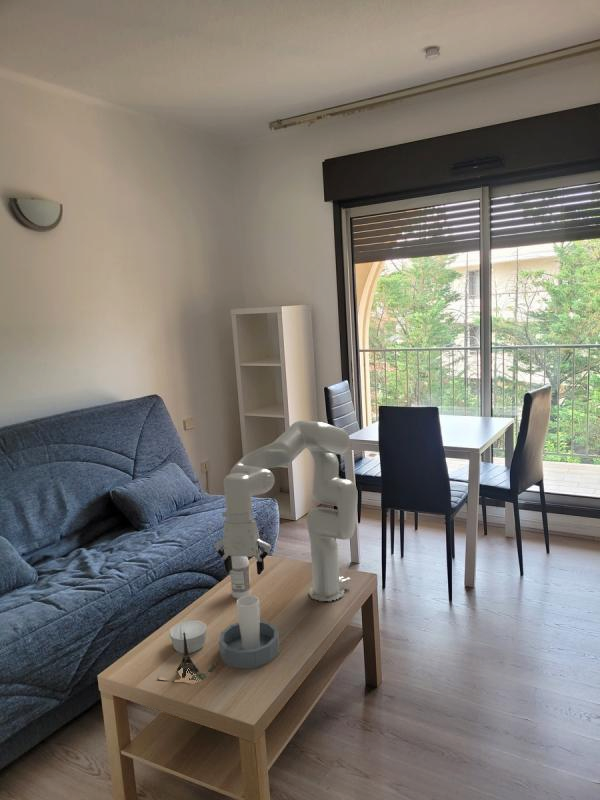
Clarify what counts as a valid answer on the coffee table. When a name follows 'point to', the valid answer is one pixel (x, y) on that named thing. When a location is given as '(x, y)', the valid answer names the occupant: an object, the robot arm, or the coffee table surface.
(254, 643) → the drinking glass
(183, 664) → the eiffel tower figurine
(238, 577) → the bath foam
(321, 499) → the robot arm
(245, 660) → the bowl
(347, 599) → the coffee table surface
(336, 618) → the coffee table surface
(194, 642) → the ramekin
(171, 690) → the coffee table surface
